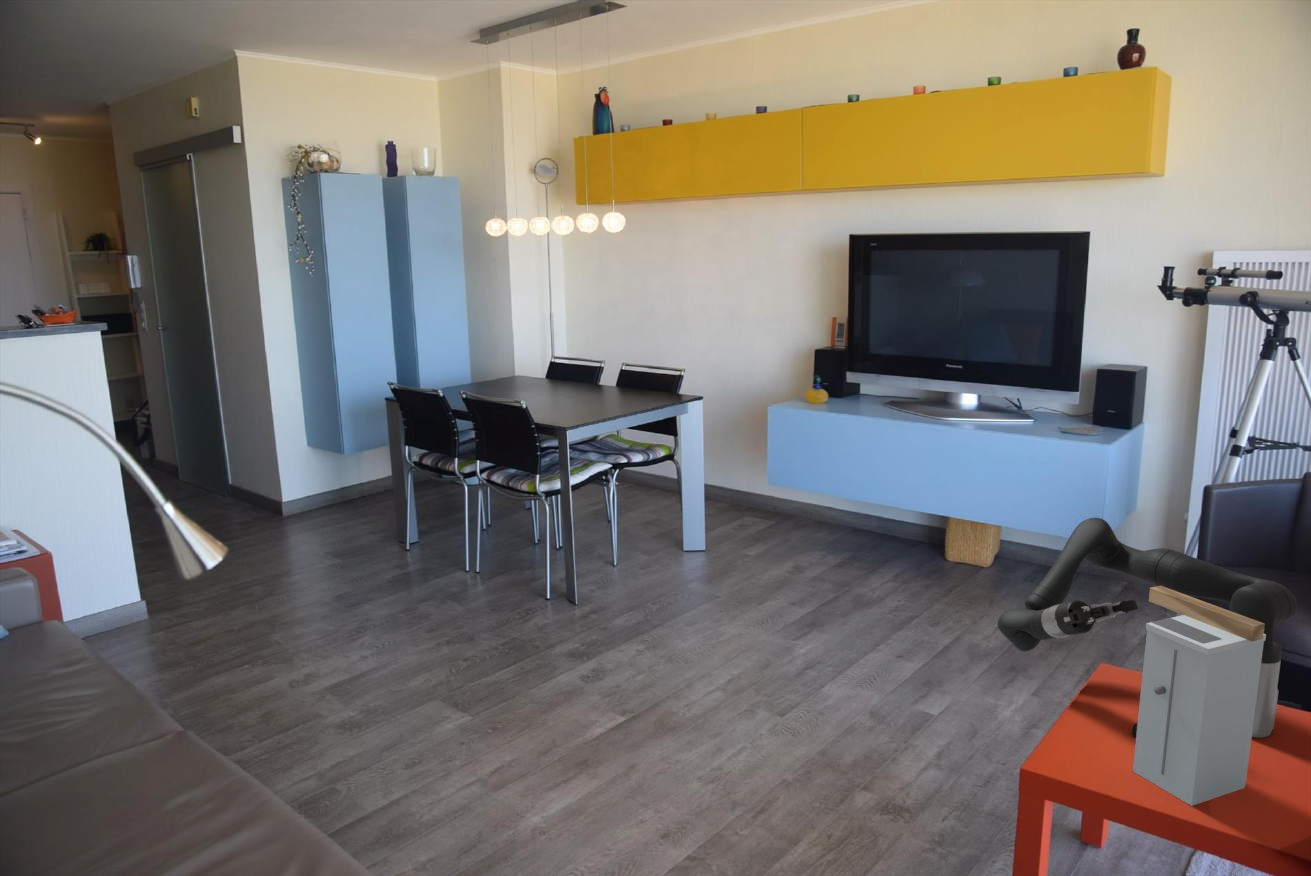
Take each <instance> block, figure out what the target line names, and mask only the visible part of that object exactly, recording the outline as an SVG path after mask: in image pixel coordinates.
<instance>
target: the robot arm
mask: <svg viewBox="0 0 1311 876" xmlns="http://www.w3.org/2000/svg"><path fill="white" fill-rule="evenodd" d="M1084 560H1086V561H1087V562H1088V563H1090V564H1091V565H1095V566H1097V567H1101V568H1104V569H1109V570H1111V571H1116V572H1121V573H1124V574H1127V575H1130V576H1132V577H1134V578H1137V579H1140V580H1142V581H1144V582H1148V583H1150V584H1153V585H1155V586H1163V587H1166V588H1168V589H1171V590H1174V591H1176V592H1179V593H1182V594H1185V595H1187V596H1190V597H1193V598H1199V599H1206V600H1207V599H1208V600H1214V601H1215V600H1216V601H1222V602H1225V603H1229V611H1231V612H1234V613H1237V614H1239V615H1242V616H1245V617H1248V618H1250V619H1253V620H1256V621H1259V622H1261V623H1264V624H1265V626H1264V634H1266V640H1265V641H1264V645H1263V652H1262V660H1261V668H1260V676H1259V684H1258V691H1257V699H1256V707H1255V715H1254V723H1253V730H1252V738H1267V737H1269V736H1270V735H1272V730H1274V728H1275V720H1276V714H1277V713H1276V712H1277V706H1278V699H1279V689H1278V683H1279V676H1280V669H1281V660H1282V655H1283V649H1282V646H1281V645H1280V644H1279V643H1278V642H1276V641H1274V629H1275V626H1276V625H1280V624H1282V623H1285V622H1287V621H1289V620H1291V619H1292V618H1293V617H1294V616H1295V614H1296V613H1297V611H1298V601H1297V599H1296V597H1295V595H1294V594H1293V592H1291V590H1289V589H1288V588H1287V587H1285V586H1284V585H1283V584H1281V583H1278V582H1276V581H1273V580H1272V581H1271V580H1268V579H1264V578H1259V577H1255V576H1251V575H1247V574H1243V573H1239V572H1236V571H1232V570H1229V569H1226V568H1224V567H1221V566H1219V565H1216V564H1213V563H1210V562H1207V561H1205V560H1201V559H1200V558H1197V557H1193V556H1191V555H1188V554H1185V553H1182V552H1180V551H1176V550H1174V549H1169V548H1162V547H1161V548H1153V549H1147V550H1142V549H1137V548H1134V547H1132V546H1128V545H1126V544H1125V543H1122V542H1121V541H1119V540H1118V538H1117V537H1116V535H1115V533H1114V529H1112V527H1111V525H1110V524H1109V523H1108V521H1106V520H1105V519H1103V518H1100V517H1090V518H1086V519H1084V520H1083V521H1081V522H1080V523H1079V524H1077V526H1076V527H1075V529H1074V530H1073V531H1072V533H1071V535H1070V536H1069V538H1068V539H1067V540H1066V543H1065V545H1064V546H1063V548H1062V550H1061V551H1060V553H1059V555H1058V556H1057V558H1056V560H1055V561H1054V562H1053V564H1052V565H1051V568H1050V569H1049V570H1048V572H1047V573H1046V574H1045V576H1044V577H1043V579H1042V580H1041V581H1040V583H1038V584H1037V586H1036V587H1035V588H1034V589H1033V590H1032V592H1030V594H1029V595H1028V596H1027V597H1026V598H1025V600H1024V606H1025V608H1026V609H1024V608H1014V609H1013V608H1011V609H1008V610H1006V611H1005V612H1003V613H1002V614H1000V616H999V617H998V620H997V628H998V630H999V632H1000V633H1001V634H1002V635H1003V636H1004V637H1005V638H1006V639H1007V640H1008V641H1009V642H1010V643H1011V644H1012V645H1013V646H1014V647H1015V648H1016V649H1017V650H1019V651H1020V652H1025V653H1026V652H1029V651H1032V650H1034V649H1035V648H1036V647H1038V645H1039V644H1040V642H1041V641H1046V640H1051V639H1057V638H1067V637H1073V636H1077V635H1082V634H1087V633H1089V632H1090V631H1092V630H1093V627H1094V625H1095V623H1098V622H1103V620H1107V619H1111V618H1112V619H1113V618H1115V617H1116V616H1117V615H1121V614H1123V615H1124V614H1127V613H1129V612H1132V611H1136V610H1138V605H1137V601H1136V599H1130V600H1121V601H1117V602H1114V603H1111V602H1108V601H1107V602H1104V603H1100V604H1097V603H1094V604H1089V605H1088V604H1087V603H1086V602H1084V601H1082V600H1078V599H1075V600H1074V599H1073V600H1072V601H1067V602H1065V601H1066V599H1068V596H1069V595H1070V591H1071V589H1072V587H1073V585H1074V581H1075V578H1076V576H1077V573H1078V570H1079V568H1080V566H1081V564H1082V562H1084Z"/></svg>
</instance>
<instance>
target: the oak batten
mask: <svg viewBox="0 0 1311 876" xmlns="http://www.w3.org/2000/svg"><path fill="white" fill-rule="evenodd" d="M1148 602H1149V603H1152V604H1155V605H1157V606H1160V607H1163V608H1165V609H1167V610H1169V611H1172V612H1175V613H1178V614H1180V615H1185V616H1188V617H1190V618H1193V619H1195V620H1198V621H1200V622H1203V623H1206V624H1208V625H1211V626H1213V627H1216V628H1219V629H1221V630H1224V631H1226V632H1229V633H1231V634H1234V635H1237V636H1239V637H1242V638H1244V639H1247V640H1249V641H1256V640H1260V639H1263V634H1264V626H1265V624H1264V623H1261V622H1259V621H1256V620H1253V619H1250V618H1248V617H1245V616H1242V615H1239V614H1237V613H1234V612H1231V611H1230V609H1225V608H1223V607H1220V606H1217V605H1214V604H1212V603H1209V602H1207V601H1204V600H1200V599H1198V598H1197V597H1192V596H1187V595H1185V594H1182V593H1179V592H1176V591H1174V590H1171V589H1168V588H1166V587H1163V586H1157V585H1155V586H1152V587H1149V595H1148Z"/></svg>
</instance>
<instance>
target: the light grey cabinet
mask: <svg viewBox="0 0 1311 876" xmlns="http://www.w3.org/2000/svg"><path fill="white" fill-rule="evenodd" d="M1145 630H1146V638H1145V648H1144V654H1143V655H1144V656H1143V664H1142V665H1143V666H1142V675H1141V685H1140V696H1139V706H1138V707H1139V708H1138V714H1137V715H1138V717H1137V723H1138V724H1137V734H1136V738H1135V746H1134V755H1133V756H1134V757H1133V766H1132V772H1133V773H1135V774H1137V776H1140V777H1142V778H1143V779H1145V780H1147V781H1149V782H1150V783H1152V784H1154V785H1155V786H1157V787H1159V788H1160V789H1162V790H1164V791H1165V792H1167V793H1169V794H1170V795H1172V796H1174V797H1176V798H1177V799H1179V800H1181V801H1183V803H1186V804H1187V805H1189V806H1190V807H1192V806H1195V805H1199V804H1202V803H1204V802H1208V801H1211V800H1213V799H1216V798H1217V799H1218V798H1219V797H1222V796H1225V795H1228V794H1231V793H1235V792H1237V791H1240V790H1243V789H1245V788H1246V784H1247V776H1248V767H1249V761H1250V760H1249V759H1250V752H1251V746H1252V745H1251V743H1252V739H1253V737H1252V730H1253V723H1254V715H1255V707H1256V699H1257V691H1258V684H1259V676H1260V668H1261V660H1262V652H1263V645H1264V641H1265V640H1266V634H1263V639H1260V640H1256V641H1249V640H1247V639H1244V638H1242V637H1239V636H1237V635H1234V634H1231V633H1229V632H1226V631H1224V630H1221V629H1219V628H1216V627H1213V626H1211V625H1208V624H1206V623H1203V622H1200V621H1198V620H1195V619H1193V618H1190V617H1188V616H1185V615H1182V614H1180V615H1178V616H1177V615H1176V616H1174V617H1169V618H1168V617H1167V618H1163V619H1159V620H1154V621H1150V622H1147V623H1145Z"/></svg>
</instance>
